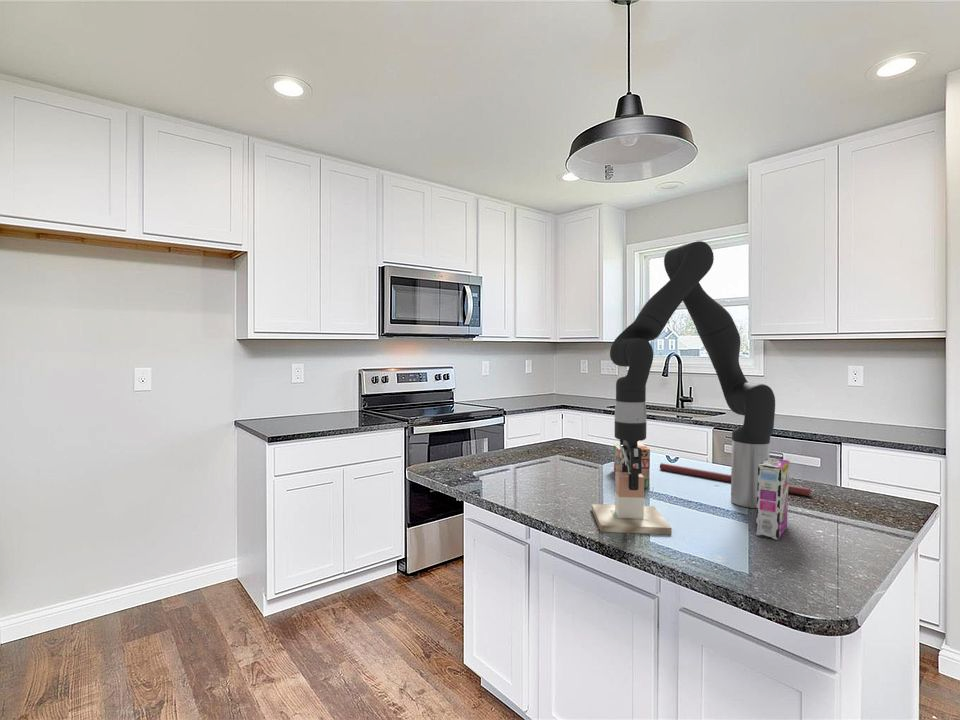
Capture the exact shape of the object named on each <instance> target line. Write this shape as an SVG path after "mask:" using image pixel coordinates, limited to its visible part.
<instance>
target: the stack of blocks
mask: <svg viewBox="0 0 960 720" xmlns="http://www.w3.org/2000/svg"><path fill="white" fill-rule="evenodd" d="M637 444H638V448H641V450H642V452H641V470H642V472H641V474H642V475H643V476H644V489H649V488H650V468H651V467H650V465H651V464H650V461H651V456H650V455H651V449H650V448H649V447H648V446H647V445H645V444H643V443H642V442H641V441H638V442H637ZM619 458H620V444H613V471H614V472H622V466H623V465H621V461H620V460H619ZM633 468H636V466H633Z"/></svg>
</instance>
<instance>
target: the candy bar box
mask: <svg viewBox="0 0 960 720" xmlns="http://www.w3.org/2000/svg"><path fill="white" fill-rule="evenodd" d="M789 479H790V460H786V459H780V458H774V457H773V458H772V457H769V458H767V459H766V460H765V461H763V462H762V463H760V464H759V465H758V485H757V508H756V515H755V516H756V519H755V521H756V523H755V536H757V537H760V538H761V537H762V538H765V539H769V540H775V541H779V540H780V539H781V538H782V536H783V534H784V532H785V531H786V530H787V528H788V513H789V511H788V509H789V508H788V506H789V505H788V504H789V493H788V485H790V484H789V483H790V482H789V481H790V480H789Z"/></svg>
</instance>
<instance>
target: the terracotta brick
mask: <svg viewBox="0 0 960 720" xmlns="http://www.w3.org/2000/svg"><path fill="white" fill-rule="evenodd" d="M614 472H615V471H614ZM614 480H615V481H614V482H615V483H614V493H615V492H616V494H617V495H618V497H636V498H644V499H645V488H644V476H643V475H642V474H639V487H638V490H630V489H629V488H628V481H629V473H628V472H615V478H614Z"/></svg>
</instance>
